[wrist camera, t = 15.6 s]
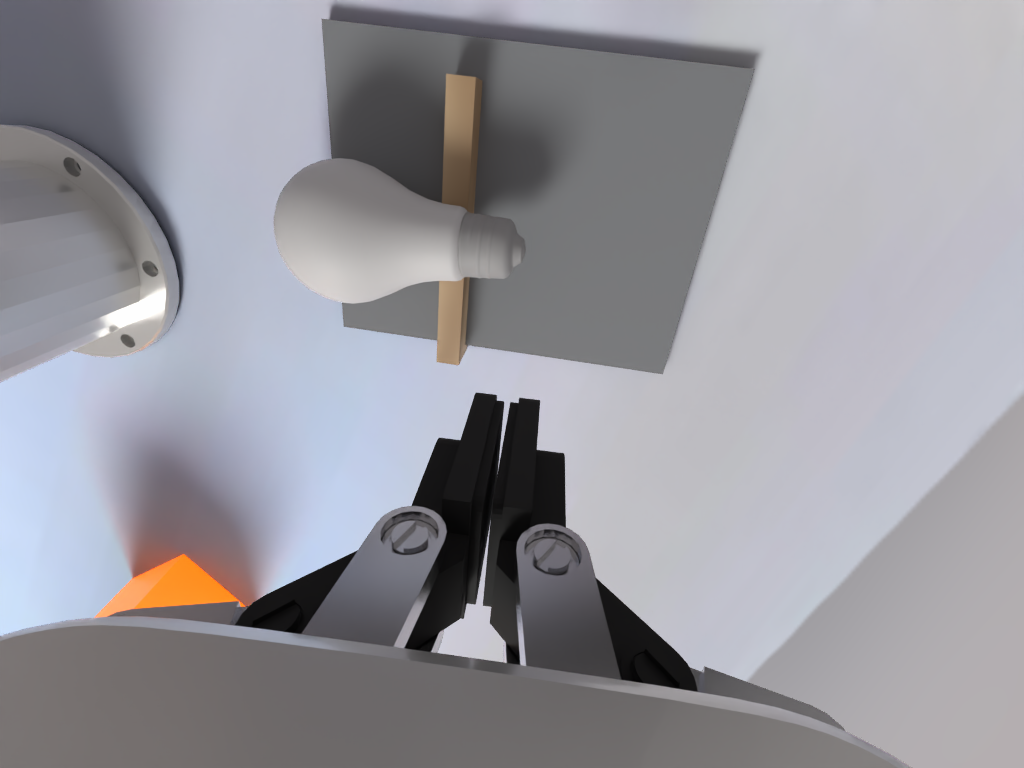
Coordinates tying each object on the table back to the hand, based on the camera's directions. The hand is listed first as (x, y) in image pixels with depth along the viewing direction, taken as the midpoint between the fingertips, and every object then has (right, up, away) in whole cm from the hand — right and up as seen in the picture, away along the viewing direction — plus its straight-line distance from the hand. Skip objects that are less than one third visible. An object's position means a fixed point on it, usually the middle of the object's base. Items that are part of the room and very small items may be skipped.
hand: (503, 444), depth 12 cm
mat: (0, +10, +11) cm, 15 cm away
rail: (-2, +9, +12) cm, 15 cm away
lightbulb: (+1, +7, +8) cm, 11 cm away
